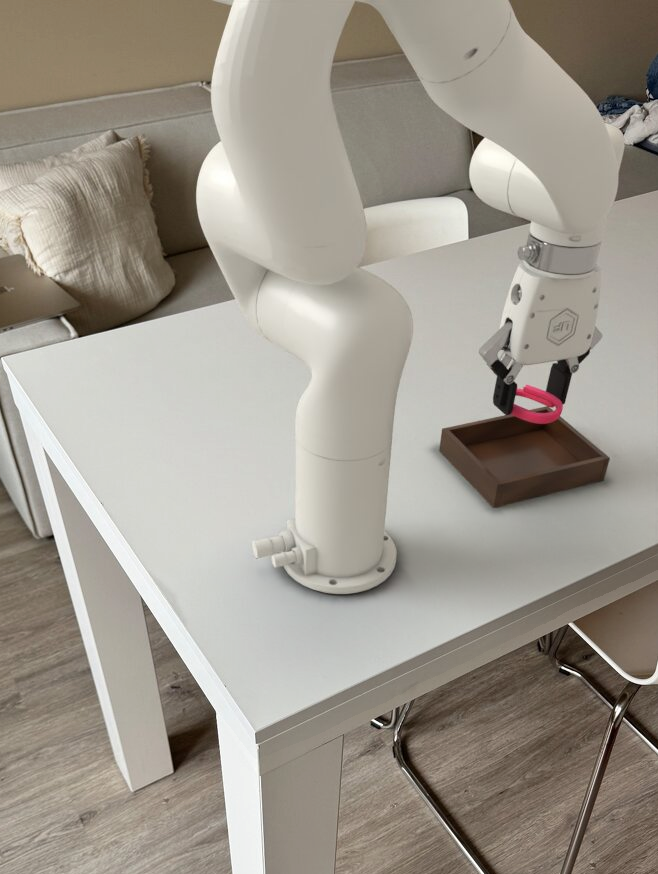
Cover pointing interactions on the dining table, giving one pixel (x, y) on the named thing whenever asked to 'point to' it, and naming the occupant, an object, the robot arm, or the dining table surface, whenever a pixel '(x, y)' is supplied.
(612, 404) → the dining table surface
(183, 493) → the dining table surface
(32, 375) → the dining table surface
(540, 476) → the walnut tray
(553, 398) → the fitness band
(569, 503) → the dining table surface
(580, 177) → the robot arm
